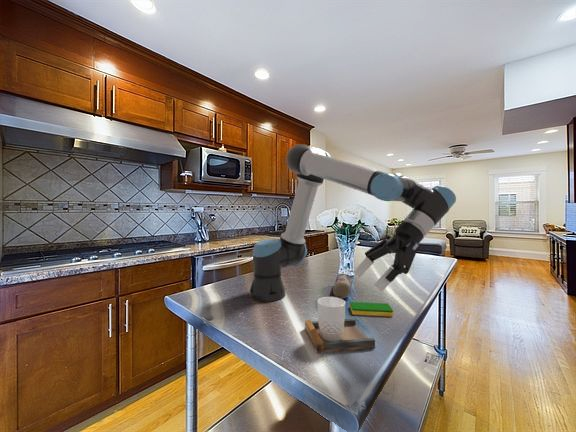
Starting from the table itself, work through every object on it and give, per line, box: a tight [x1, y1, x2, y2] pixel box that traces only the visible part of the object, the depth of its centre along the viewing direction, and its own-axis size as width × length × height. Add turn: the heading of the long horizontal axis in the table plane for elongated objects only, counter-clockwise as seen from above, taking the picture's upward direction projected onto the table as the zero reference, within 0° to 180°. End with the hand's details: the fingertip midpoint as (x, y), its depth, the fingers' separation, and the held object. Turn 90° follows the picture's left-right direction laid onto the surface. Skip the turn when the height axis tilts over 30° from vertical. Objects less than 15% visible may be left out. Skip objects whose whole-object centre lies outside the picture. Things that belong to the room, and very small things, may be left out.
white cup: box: [317, 296, 346, 341], centre depth 73 cm, size 8×8×10 cm
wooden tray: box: [304, 317, 376, 354], centre depth 74 cm, size 16×13×3 cm
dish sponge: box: [349, 301, 394, 317], centre depth 92 cm, size 7×14×2 cm, turn 83°
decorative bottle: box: [332, 273, 353, 299], centre depth 118 cm, size 26×8×7 cm, turn 164°
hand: (365, 281), depth 75 cm, fingers open, 13 cm apart
